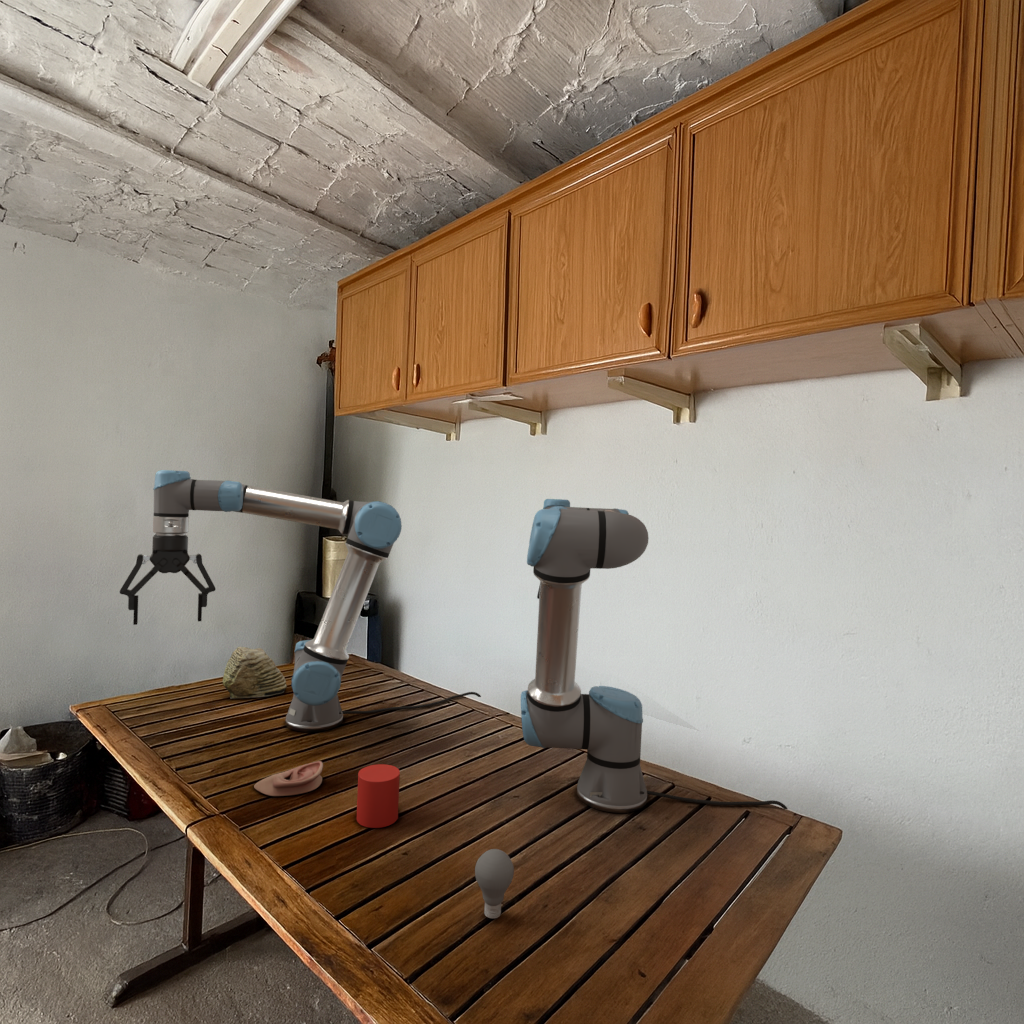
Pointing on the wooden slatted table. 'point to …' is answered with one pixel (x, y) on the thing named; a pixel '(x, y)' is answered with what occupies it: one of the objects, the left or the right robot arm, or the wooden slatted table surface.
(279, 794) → the anatomical model
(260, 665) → the fossil
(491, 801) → the wooden slatted table surface
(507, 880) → the light bulb
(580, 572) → the right robot arm
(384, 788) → the canister
